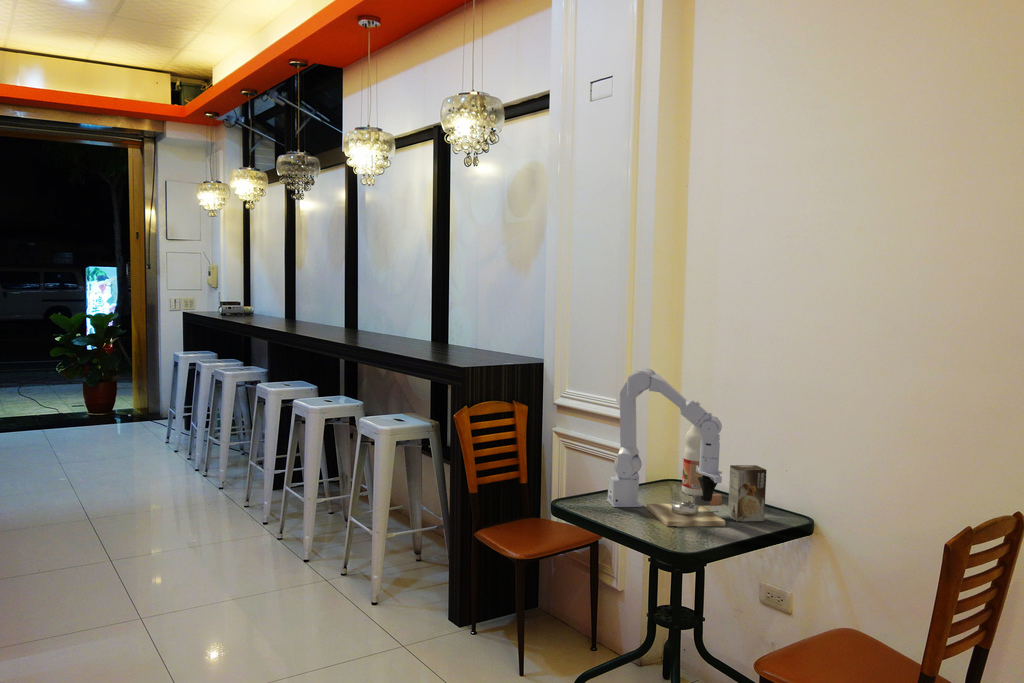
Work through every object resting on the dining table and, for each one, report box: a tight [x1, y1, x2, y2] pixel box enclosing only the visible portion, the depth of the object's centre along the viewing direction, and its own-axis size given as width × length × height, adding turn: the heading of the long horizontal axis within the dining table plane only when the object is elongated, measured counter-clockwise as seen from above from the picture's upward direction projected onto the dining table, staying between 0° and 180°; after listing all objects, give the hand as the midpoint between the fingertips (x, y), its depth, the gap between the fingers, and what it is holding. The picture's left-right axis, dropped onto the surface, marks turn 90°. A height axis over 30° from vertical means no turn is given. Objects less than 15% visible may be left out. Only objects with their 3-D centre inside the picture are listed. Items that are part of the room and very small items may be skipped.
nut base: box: [646, 503, 726, 527], centre depth 222 cm, size 20×18×2 cm
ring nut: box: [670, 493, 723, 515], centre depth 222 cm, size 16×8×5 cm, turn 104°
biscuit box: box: [727, 464, 767, 522], centre depth 222 cm, size 9×6×16 cm
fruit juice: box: [681, 423, 703, 496], centre depth 250 cm, size 9×9×28 cm
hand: (707, 500), depth 222 cm, fingers closed, pressing on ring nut
